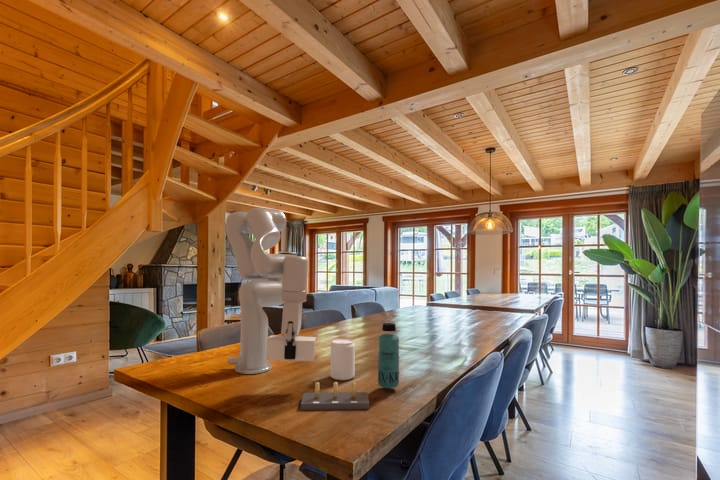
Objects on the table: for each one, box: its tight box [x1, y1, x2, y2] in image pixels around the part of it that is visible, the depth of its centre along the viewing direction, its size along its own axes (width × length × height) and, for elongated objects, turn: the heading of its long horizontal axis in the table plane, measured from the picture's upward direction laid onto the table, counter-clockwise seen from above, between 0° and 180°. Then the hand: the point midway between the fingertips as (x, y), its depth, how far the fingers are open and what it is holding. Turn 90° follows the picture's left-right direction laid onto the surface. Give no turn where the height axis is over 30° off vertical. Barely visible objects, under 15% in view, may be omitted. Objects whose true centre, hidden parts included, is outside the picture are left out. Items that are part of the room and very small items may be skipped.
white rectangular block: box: [266, 334, 317, 362], centre depth 108 cm, size 14×5×6 cm, turn 93°
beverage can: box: [330, 338, 356, 382], centre depth 119 cm, size 8×8×12 cm
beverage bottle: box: [377, 322, 400, 389], centre depth 108 cm, size 6×7×20 cm
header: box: [300, 381, 370, 411], centre depth 97 cm, size 18×8×6 cm, turn 93°
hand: (291, 355), depth 108 cm, fingers closed on white rectangular block, 5 cm apart
